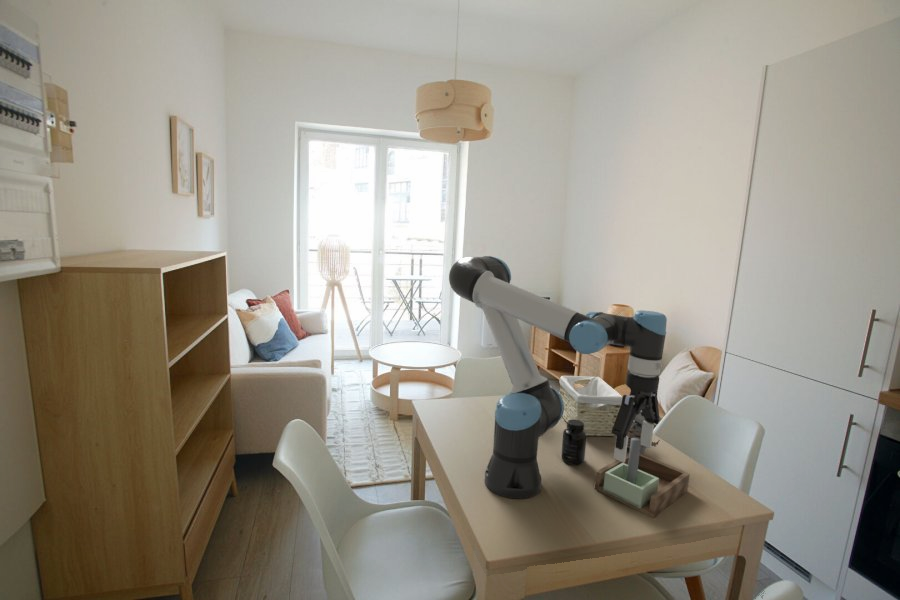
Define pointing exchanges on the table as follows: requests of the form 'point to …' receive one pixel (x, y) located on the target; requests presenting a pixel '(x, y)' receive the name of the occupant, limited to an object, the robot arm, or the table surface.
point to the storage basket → (590, 404)
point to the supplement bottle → (574, 443)
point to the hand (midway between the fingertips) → (632, 452)
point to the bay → (669, 484)
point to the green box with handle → (631, 480)
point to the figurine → (638, 431)
